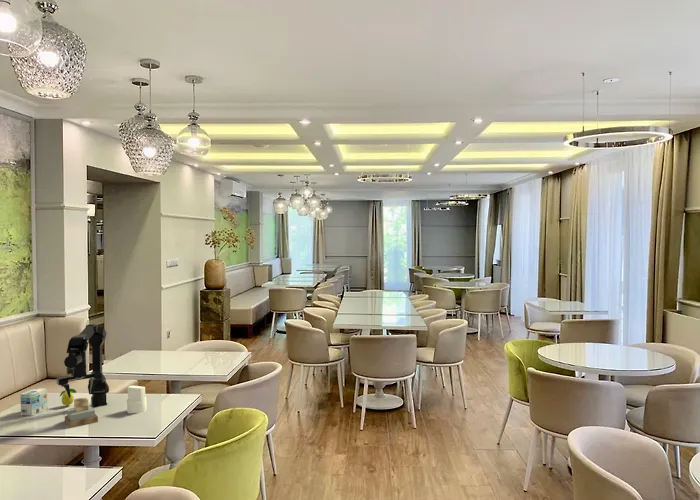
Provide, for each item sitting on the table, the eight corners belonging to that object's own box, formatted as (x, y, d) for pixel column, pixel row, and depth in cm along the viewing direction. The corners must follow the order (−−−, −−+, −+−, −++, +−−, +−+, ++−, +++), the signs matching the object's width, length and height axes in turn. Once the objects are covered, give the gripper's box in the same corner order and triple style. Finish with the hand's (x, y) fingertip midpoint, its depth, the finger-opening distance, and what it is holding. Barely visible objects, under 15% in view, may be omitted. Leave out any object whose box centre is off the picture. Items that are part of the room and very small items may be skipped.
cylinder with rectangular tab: (123, 412, 258) (122, 388, 257) (137, 407, 266) (136, 383, 266) (137, 414, 254) (136, 390, 254) (150, 408, 263) (149, 385, 262)
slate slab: (90, 411, 253) (89, 405, 253) (94, 416, 245) (94, 410, 245) (67, 416, 247) (67, 410, 247) (71, 421, 239) (71, 415, 239)
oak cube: (85, 407, 250) (85, 397, 250) (88, 409, 246) (88, 399, 246) (74, 409, 247) (74, 399, 247) (76, 412, 243) (76, 401, 243)
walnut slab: (92, 416, 254) (92, 410, 254) (97, 423, 245) (97, 416, 245) (64, 422, 247) (64, 416, 247) (69, 429, 238) (69, 422, 237)
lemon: (77, 405, 271) (76, 386, 271) (66, 408, 266) (65, 389, 266) (70, 403, 274) (69, 384, 274) (59, 406, 270) (58, 387, 269)
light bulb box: (31, 416, 256) (31, 394, 255) (20, 415, 257) (19, 393, 257) (48, 409, 266) (47, 388, 266) (37, 408, 267) (36, 387, 267)
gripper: (96, 357, 258) (97, 388, 258) (53, 363, 246) (55, 396, 246) (102, 361, 249) (103, 393, 249) (58, 367, 237) (59, 401, 237)
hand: (80, 395), depth 246 cm, fingers open, 9 cm apart
